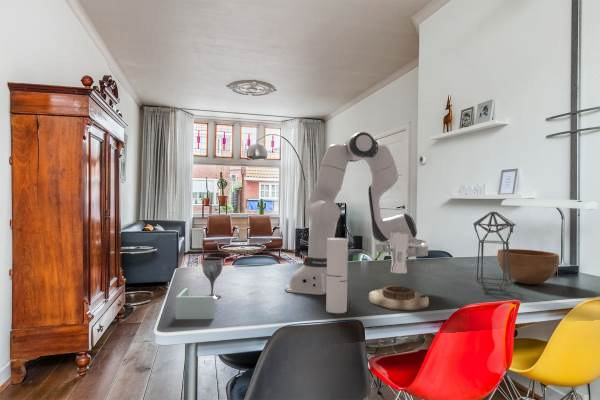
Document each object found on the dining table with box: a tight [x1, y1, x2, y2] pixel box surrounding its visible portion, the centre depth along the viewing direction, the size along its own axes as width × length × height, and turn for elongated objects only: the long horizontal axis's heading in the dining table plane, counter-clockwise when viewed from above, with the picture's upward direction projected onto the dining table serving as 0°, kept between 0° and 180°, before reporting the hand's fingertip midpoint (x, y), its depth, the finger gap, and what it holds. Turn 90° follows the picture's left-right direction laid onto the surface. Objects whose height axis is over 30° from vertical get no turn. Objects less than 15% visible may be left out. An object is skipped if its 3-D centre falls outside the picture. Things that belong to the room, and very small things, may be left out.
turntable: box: [368, 285, 430, 311], centre depth 136 cm, size 22×22×4 cm
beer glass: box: [389, 232, 409, 275], centre depth 136 cm, size 7×7×15 cm
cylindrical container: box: [325, 237, 349, 314], centre depth 123 cm, size 7×7×25 cm
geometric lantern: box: [472, 211, 517, 296], centre depth 154 cm, size 16×16×35 cm
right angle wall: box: [174, 287, 216, 320], centre depth 118 cm, size 12×12×8 cm
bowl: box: [496, 248, 560, 285], centre depth 170 cm, size 25×25×15 cm
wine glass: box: [201, 256, 224, 300], centre depth 138 cm, size 8×8×15 cm
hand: (398, 250), depth 135 cm, fingers closed on beer glass, 6 cm apart
